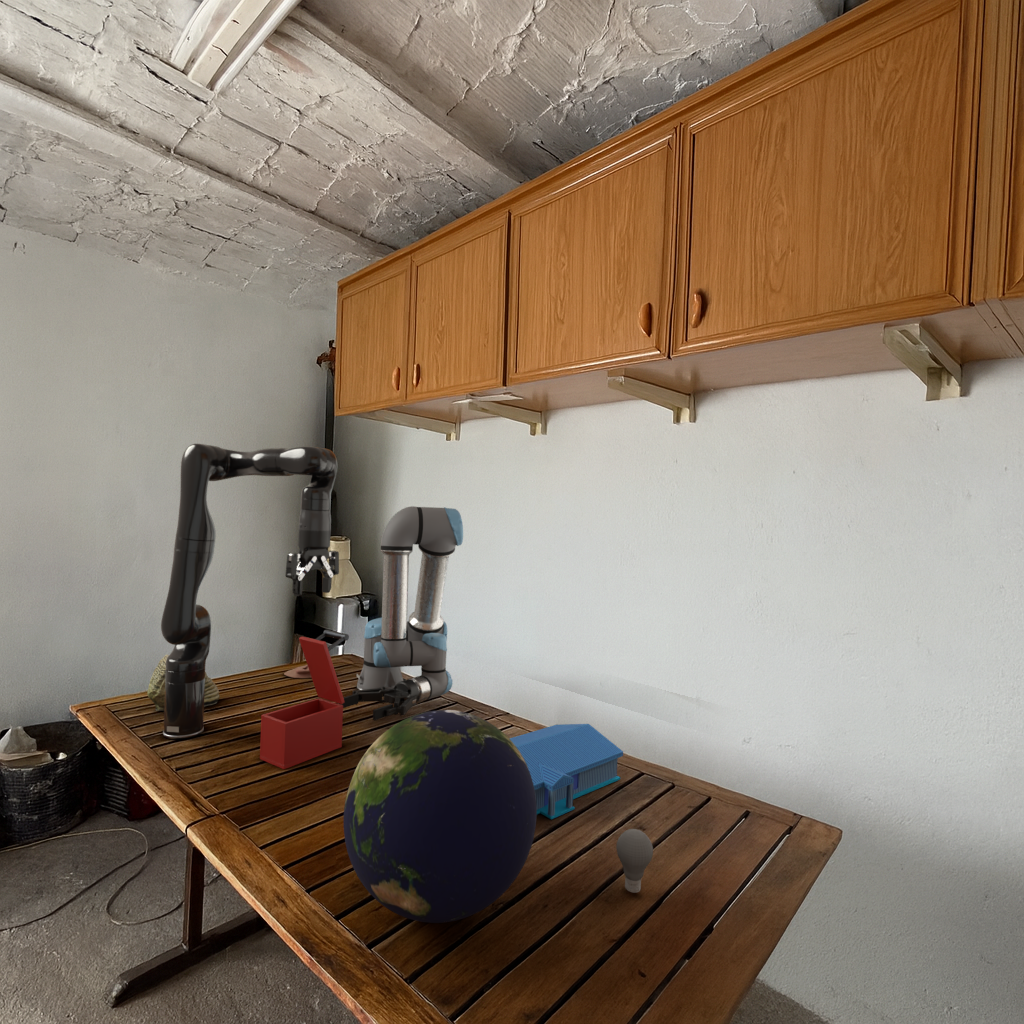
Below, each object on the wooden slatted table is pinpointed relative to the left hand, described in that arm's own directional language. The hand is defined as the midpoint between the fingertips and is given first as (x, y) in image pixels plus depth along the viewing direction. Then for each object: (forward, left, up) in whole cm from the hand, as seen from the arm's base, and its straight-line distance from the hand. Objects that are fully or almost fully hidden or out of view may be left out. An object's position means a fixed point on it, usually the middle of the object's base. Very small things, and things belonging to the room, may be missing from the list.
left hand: (312, 594), depth 156 cm
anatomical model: (-63, +29, -39) cm, 80 cm away
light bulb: (+86, +16, -39) cm, 96 cm away
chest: (0, -1, -39) cm, 39 cm away
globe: (+68, -11, -39) cm, 79 cm away
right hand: (-4, +16, -33) cm, 37 cm away
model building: (+49, +30, -39) cm, 70 cm away
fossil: (-52, -13, -39) cm, 66 cm away
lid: (-1, +3, -20) cm, 20 cm away
